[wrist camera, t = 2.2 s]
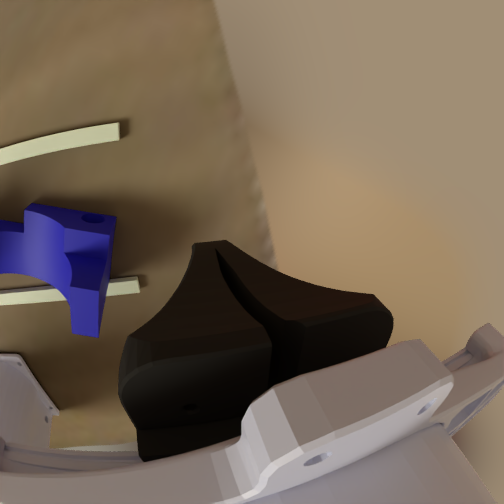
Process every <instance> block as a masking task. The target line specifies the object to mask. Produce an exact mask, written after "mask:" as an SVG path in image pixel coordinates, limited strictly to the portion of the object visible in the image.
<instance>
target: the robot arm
mask: <svg viewBox="0 0 504 504" xmlns="http://www.w3.org/2000/svg"><path fill="white" fill-rule="evenodd" d="M392 330H393V316H392V314H391V312H390V311H389V310H388V309H387V308H386V307H385V306H384V305H383V304H382V303H381V302H380V301H379V300H378V299H377V298H376V297H375V295H373V294H366V293H357V292H347V291H341V290H336V289H331V288H326V287H322V286H317V285H314V284H311V283H308V282H304V281H301V280H298V279H295V278H293V277H290V276H288V275H285V274H283V273H281V272H278V271H276V270H274V269H272V268H270V267H268V266H267V265H265V264H263V263H261V262H259V261H258V260H256V259H254V258H253V257H251V256H249V255H248V254H246V253H245V252H243V251H242V250H240V249H239V248H237V247H236V246H234V245H233V244H231V243H230V242H228V241H227V240H221V241H211V242H202V243H194V244H193V246H192V255H191V259H190V262H189V265H188V268H187V270H186V273H185V275H184V277H183V279H182V281H181V283H180V285H179V286H178V288H177V290H176V291H175V293H174V294H173V296H172V297H171V298H170V300H169V301H168V302H167V303H166V305H165V306H164V307H163V308H162V309H161V310H160V311H159V312H158V313H157V314H156V315H155V316H154V317H153V318H152V319H151V320H150V321H148V322H147V323H146V324H144V325H143V326H142V327H140V328H139V329H137V330H136V331H135V332H133V333H132V334H130V335H129V336H128V337H127V340H126V343H125V346H124V350H123V353H122V358H121V362H120V368H119V383H118V395H119V398H120V401H121V404H122V405H123V407H124V409H125V411H126V412H127V414H128V416H129V418H130V419H131V421H132V423H133V424H134V426H135V428H136V431H137V443H138V451H122V452H121V451H118V452H102V451H75V450H62V449H51V448H49V441H50V431H51V423H52V415H59V410H58V409H57V408H56V406H55V405H54V404H53V402H52V401H51V400H50V398H49V397H48V396H47V394H46V393H45V391H44V390H43V389H42V387H41V386H40V384H39V383H38V382H37V380H36V379H35V377H34V376H33V374H32V373H31V371H30V369H29V368H28V366H27V365H26V363H25V362H24V360H23V358H22V357H21V356H20V355H18V354H0V504H497V502H496V501H495V499H494V498H493V496H492V495H491V493H490V492H489V490H488V489H487V487H486V486H485V484H484V483H483V481H482V480H481V479H480V477H479V476H478V474H477V473H476V471H475V470H474V469H473V467H472V466H471V464H470V463H469V462H468V460H467V459H466V457H465V456H464V455H463V453H462V452H461V450H460V449H459V448H458V446H457V445H456V443H455V442H454V441H453V439H452V438H451V436H452V435H454V434H455V433H456V432H457V431H458V430H460V429H461V428H462V427H463V426H464V425H465V424H467V423H468V422H469V421H470V420H471V419H472V418H473V417H474V416H475V415H476V414H478V413H479V412H480V411H481V410H482V409H483V408H484V407H485V406H486V405H487V404H488V403H489V402H490V401H491V400H492V399H493V398H494V397H495V396H496V395H497V394H498V392H499V391H500V390H501V389H502V388H503V386H504V336H503V335H501V334H500V333H499V332H498V331H497V330H496V329H495V328H494V327H493V326H492V325H491V324H490V323H487V324H485V325H484V326H482V327H480V328H479V329H478V330H476V331H475V332H474V333H473V334H472V336H471V337H470V339H469V340H468V342H467V344H466V347H465V348H464V349H462V350H460V351H459V352H457V353H456V354H454V355H452V356H451V357H449V358H447V359H446V360H444V361H442V362H441V361H440V360H439V359H438V358H437V357H436V356H435V355H434V354H433V352H432V351H431V350H430V349H429V348H428V347H427V346H426V345H425V344H424V343H423V342H422V341H421V340H420V339H416V340H409V341H402V342H399V343H397V344H394V345H391V346H389V347H386V346H387V344H388V341H389V339H390V336H391V333H392Z"/></svg>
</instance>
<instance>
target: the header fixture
mask: <svg viewBox="0 0 504 504" xmlns="http://www.w3.org/2000/svg"><path fill="white" fill-rule="evenodd" d="M117 140H120V124H119V122H118V123H111V124H105V125H99V126H93V127H87V128H81V129H76V130H71V131H66V132H62V133H57V134H53V135H48V136H44V137H40V138H36V139H32V140H29V141H25V142H21V143H18V144H14V145H11V146H8V147H4V148H1V149H0V165H3V164H6V163H10V162H13V161H17V160H21V159H24V158H28V157H32V156H37V155H41V154H45V153H49V152H54V151H59V150H64V149H69V148H74V147H79V146H85V145H91V144H97V143H103V142H110V141H117ZM132 293H140V286H139V281H138V276H135V277H126V278H117V279H110V280H109V284H108V289H107V294H106V296H113V295H122V294H132ZM61 300H66V298H65V297H64V296H63V295H62V293H61V292H60V291H58V290H57V289H56V288H55V287H53V286H52V285H51V286H41V287H31V288H21V289H11V290H1V291H0V305H11V304H25V303H37V302H49V301H61Z"/></svg>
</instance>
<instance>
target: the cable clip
mask: <svg viewBox="0 0 504 504" xmlns="http://www.w3.org/2000/svg"><path fill="white" fill-rule="evenodd" d="M115 224H116V217H114V216H108V215H102V214H96V213H90V212H84V211H78V210H72V209H66V208H60V207H53V206H47V205H41V204H35V203H31V204H30V205H29V206H28V207H27V208H26V209H25V210H24V224H22V223H17V222H11V221H5V220H0V274H2V273H16V274H24V275H29V276H32V277H36V278H38V279H41V280H43V281H45V282H47V283H49V284H51V285H52V286H53V287H55V288H56V289H57V290H58V291H60V292H61V293H62V295H63V296H64V297H65V298H66V300H67V301H68V303H69V305H70V311H71V326H72V333H73V334H79V335H85V336H91V337H97V338H99V331H100V325H101V320H102V314H103V309H104V303H105V298H106V294H107V289H108V284H109V280H110V269H111V258H112V248H113V240H114V232H115Z"/></svg>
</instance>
